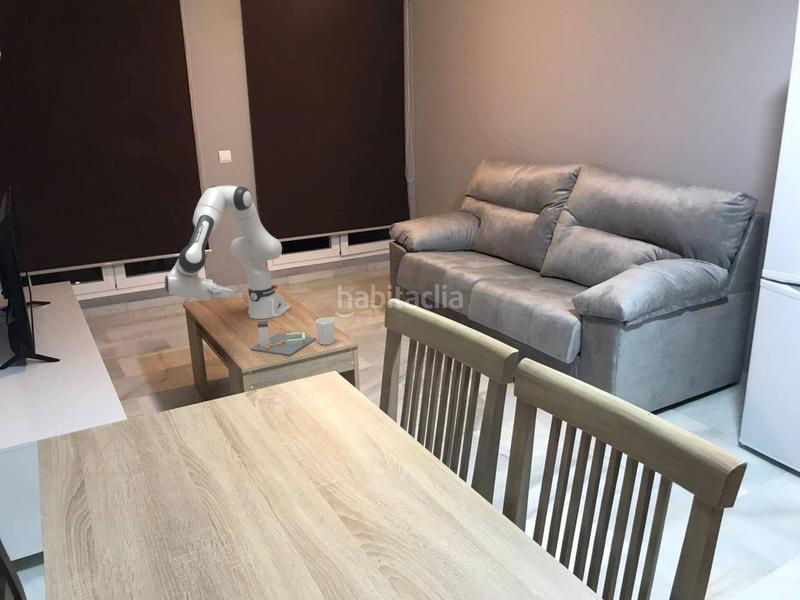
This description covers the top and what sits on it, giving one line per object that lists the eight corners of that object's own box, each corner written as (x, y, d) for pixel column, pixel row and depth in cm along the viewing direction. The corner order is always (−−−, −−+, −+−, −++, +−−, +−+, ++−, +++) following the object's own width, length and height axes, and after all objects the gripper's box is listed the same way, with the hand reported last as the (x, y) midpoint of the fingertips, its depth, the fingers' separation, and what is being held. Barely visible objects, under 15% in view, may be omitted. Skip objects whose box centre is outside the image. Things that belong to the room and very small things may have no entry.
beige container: (260, 343, 284) (257, 321, 280) (270, 342, 284) (267, 320, 281) (260, 346, 280) (257, 324, 277) (269, 345, 280) (267, 323, 277)
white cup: (325, 337, 289) (324, 316, 286) (339, 340, 284) (337, 319, 281) (313, 343, 283) (311, 321, 280) (327, 346, 278) (325, 324, 275)
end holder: (287, 345, 280) (287, 340, 279) (287, 338, 288) (286, 333, 288) (305, 343, 281) (305, 339, 280) (304, 336, 289) (304, 332, 289)
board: (278, 334, 295) (278, 330, 295) (316, 339, 287) (315, 335, 286) (251, 350, 278) (250, 345, 278) (290, 356, 270) (289, 351, 269)
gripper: (211, 283, 258) (246, 288, 264) (204, 280, 277) (236, 285, 282) (208, 299, 258) (243, 304, 264) (201, 295, 277) (234, 300, 283)
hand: (240, 294), depth 273 cm, fingers open, 8 cm apart
